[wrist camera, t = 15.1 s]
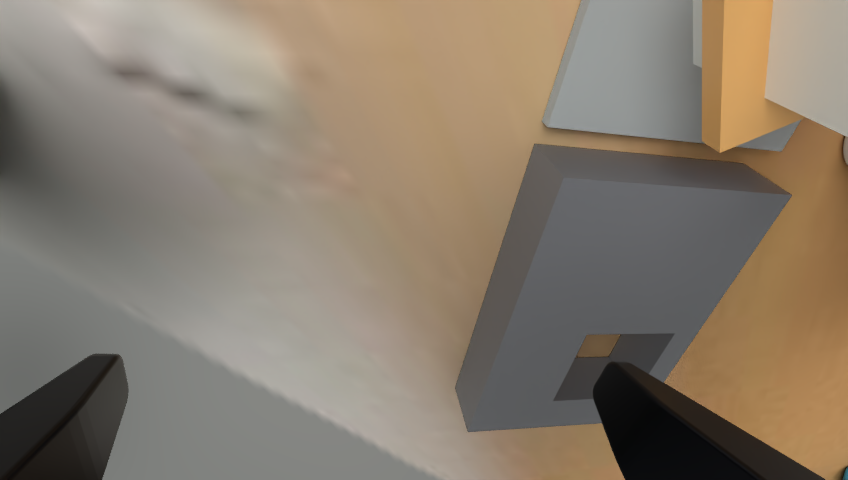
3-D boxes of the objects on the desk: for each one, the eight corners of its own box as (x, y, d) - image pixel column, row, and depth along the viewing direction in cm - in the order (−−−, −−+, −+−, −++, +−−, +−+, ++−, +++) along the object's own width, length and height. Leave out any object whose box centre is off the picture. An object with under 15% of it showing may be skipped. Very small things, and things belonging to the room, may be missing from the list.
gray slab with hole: (455, 387, 30) (467, 431, 27) (534, 143, 21) (563, 177, 18) (613, 381, 32) (637, 420, 30) (743, 163, 23) (792, 195, 21)
